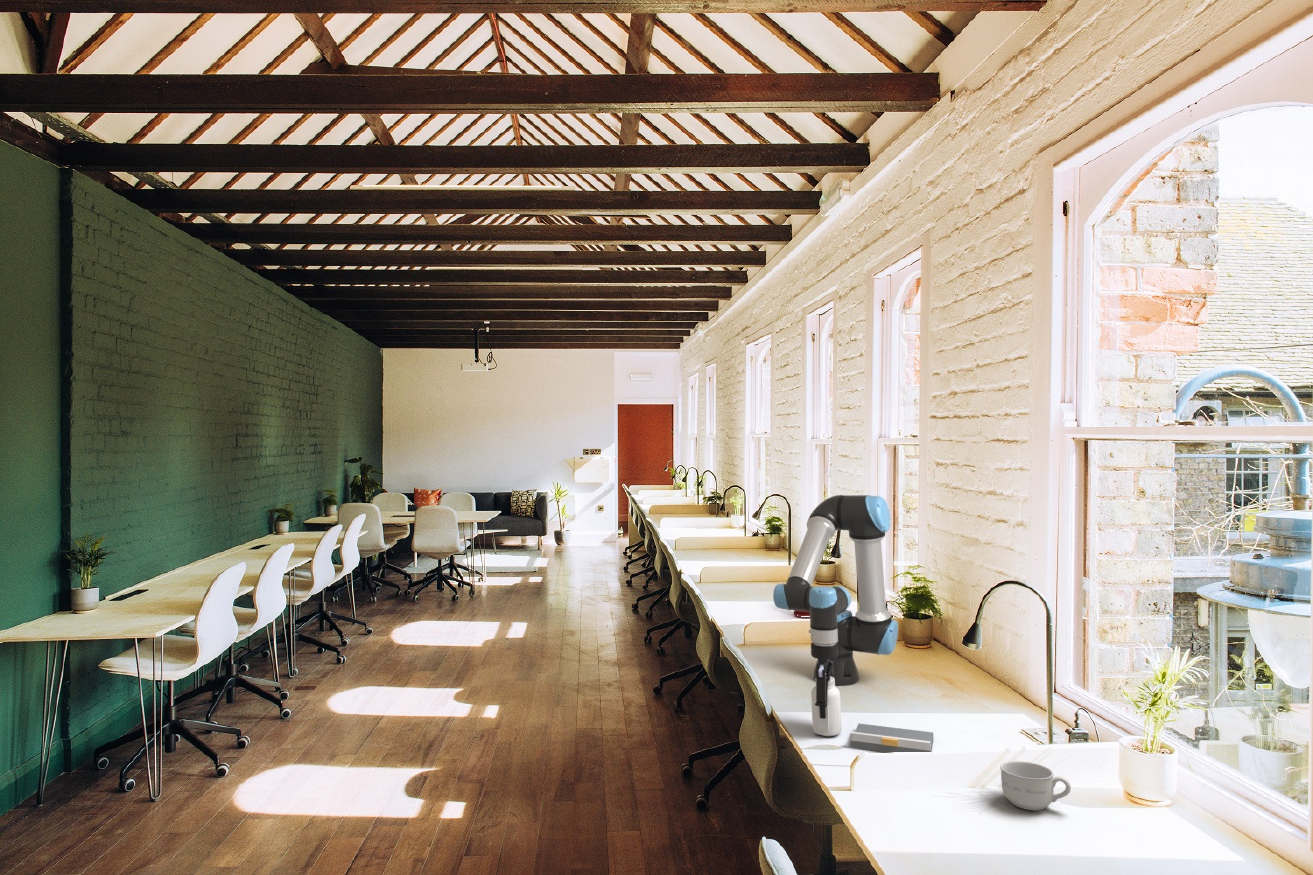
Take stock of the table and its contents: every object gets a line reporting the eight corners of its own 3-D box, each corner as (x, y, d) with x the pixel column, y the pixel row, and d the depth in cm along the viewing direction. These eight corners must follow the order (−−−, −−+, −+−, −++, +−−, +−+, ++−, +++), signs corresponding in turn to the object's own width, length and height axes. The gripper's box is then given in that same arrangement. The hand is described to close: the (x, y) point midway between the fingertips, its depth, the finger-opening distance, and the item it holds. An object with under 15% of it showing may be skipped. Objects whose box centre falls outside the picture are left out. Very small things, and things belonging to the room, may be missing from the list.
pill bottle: (820, 723, 217) (818, 671, 217) (846, 729, 212) (844, 676, 212) (807, 732, 211) (805, 679, 211) (833, 739, 206) (832, 684, 206)
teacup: (993, 804, 168) (992, 768, 168) (1012, 788, 176) (1010, 754, 176) (1061, 826, 158) (1059, 788, 158) (1077, 807, 166) (1076, 771, 166)
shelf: (858, 730, 213) (858, 716, 213) (933, 739, 205) (933, 724, 205) (851, 748, 200) (850, 733, 200) (930, 759, 192) (930, 743, 192)
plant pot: (803, 611, 362) (802, 587, 362) (825, 616, 352) (824, 590, 352) (785, 616, 354) (784, 590, 354) (807, 620, 344) (806, 594, 344)
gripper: (818, 632, 222) (820, 709, 222) (803, 651, 203) (805, 735, 203) (843, 634, 219) (846, 712, 219) (830, 653, 200) (833, 738, 200)
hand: (826, 723), depth 211 cm, fingers closed on pill bottle, 8 cm apart
